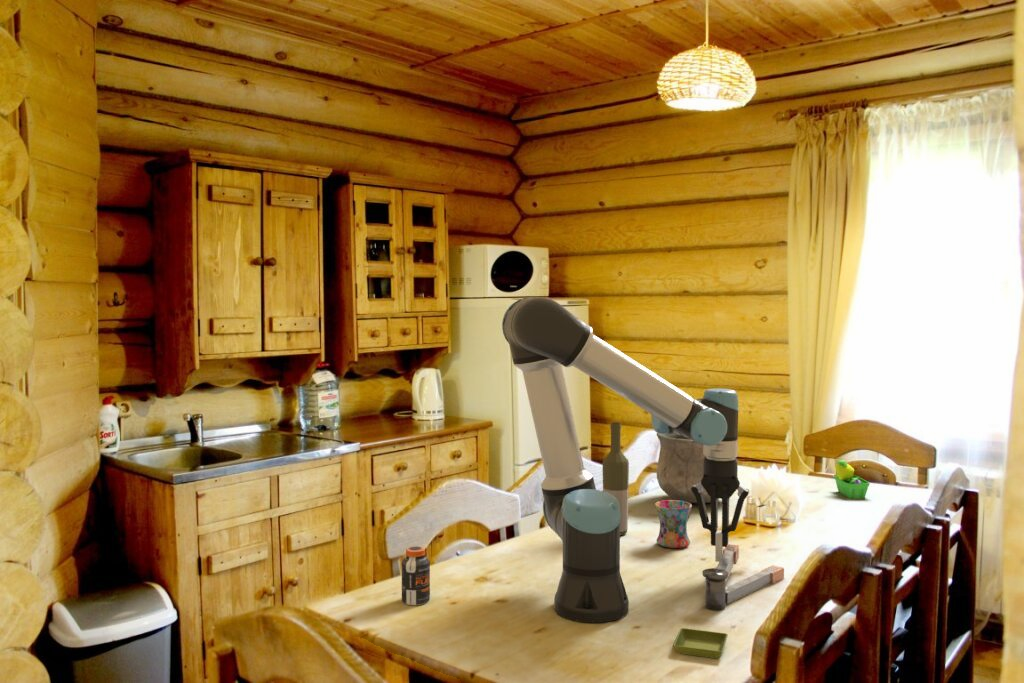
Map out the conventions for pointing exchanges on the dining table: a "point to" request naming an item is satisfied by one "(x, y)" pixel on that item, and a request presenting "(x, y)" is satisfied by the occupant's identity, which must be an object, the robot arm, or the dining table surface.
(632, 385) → the robot arm
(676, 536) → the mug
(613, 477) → the bottle
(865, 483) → the fruit basket
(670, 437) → the pot
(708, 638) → the green tray
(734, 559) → the tong arm
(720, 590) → the base
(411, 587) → the pill bottle
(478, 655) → the dining table surface
